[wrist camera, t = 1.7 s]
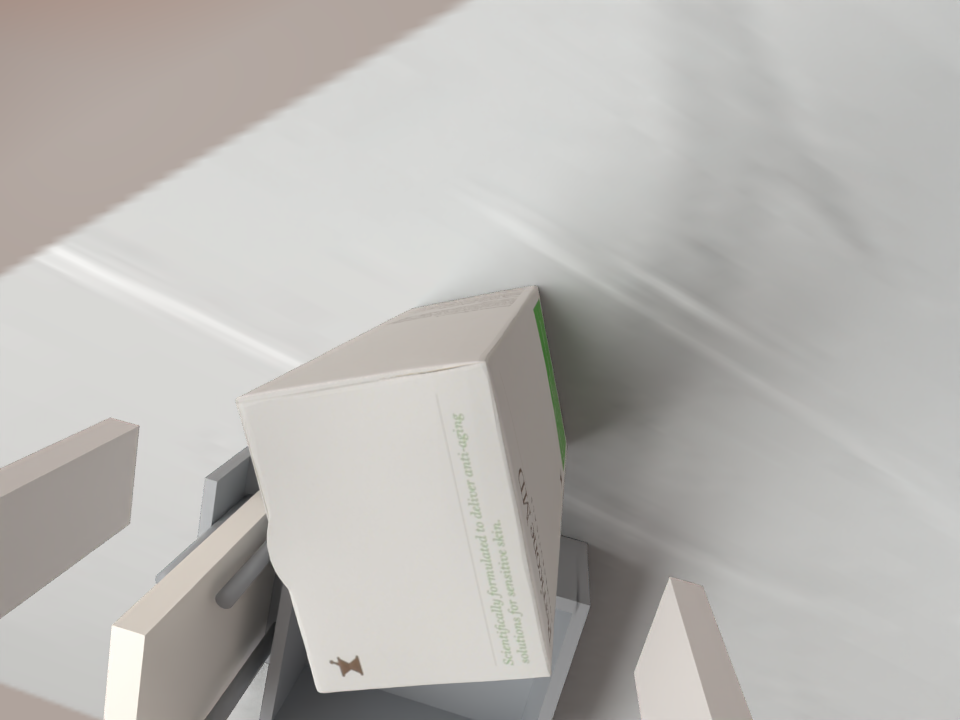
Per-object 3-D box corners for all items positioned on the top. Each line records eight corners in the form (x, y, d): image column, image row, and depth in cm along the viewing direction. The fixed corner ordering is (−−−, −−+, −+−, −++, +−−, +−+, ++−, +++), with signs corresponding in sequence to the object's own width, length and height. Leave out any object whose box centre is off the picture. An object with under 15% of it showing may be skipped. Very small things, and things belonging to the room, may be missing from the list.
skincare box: (568, 447, 30) (567, 696, 15) (436, 465, 31) (310, 711, 16) (537, 275, 28) (500, 357, 13) (399, 301, 29) (217, 403, 14)
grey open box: (587, 543, 31) (597, 747, 19) (526, 729, 34) (504, 1001, 22) (248, 445, 32) (67, 580, 20) (221, 633, 35) (51, 842, 24)
